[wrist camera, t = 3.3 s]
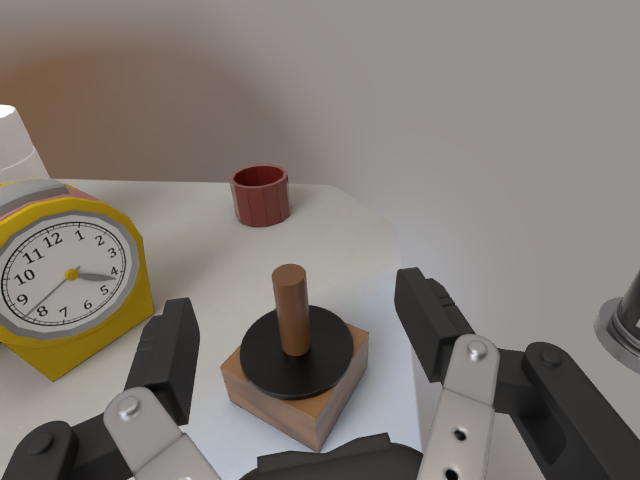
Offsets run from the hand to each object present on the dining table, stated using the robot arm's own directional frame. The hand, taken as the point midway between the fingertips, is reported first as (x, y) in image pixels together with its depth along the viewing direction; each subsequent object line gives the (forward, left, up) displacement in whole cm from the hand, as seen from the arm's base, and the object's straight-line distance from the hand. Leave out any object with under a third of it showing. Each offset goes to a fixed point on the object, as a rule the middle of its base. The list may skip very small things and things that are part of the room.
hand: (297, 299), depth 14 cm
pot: (+31, -34, -21) cm, 51 cm away
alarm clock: (+32, -3, -21) cm, 39 cm away
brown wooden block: (+7, -9, -21) cm, 24 cm away
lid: (+7, -9, -16) cm, 20 cm away
